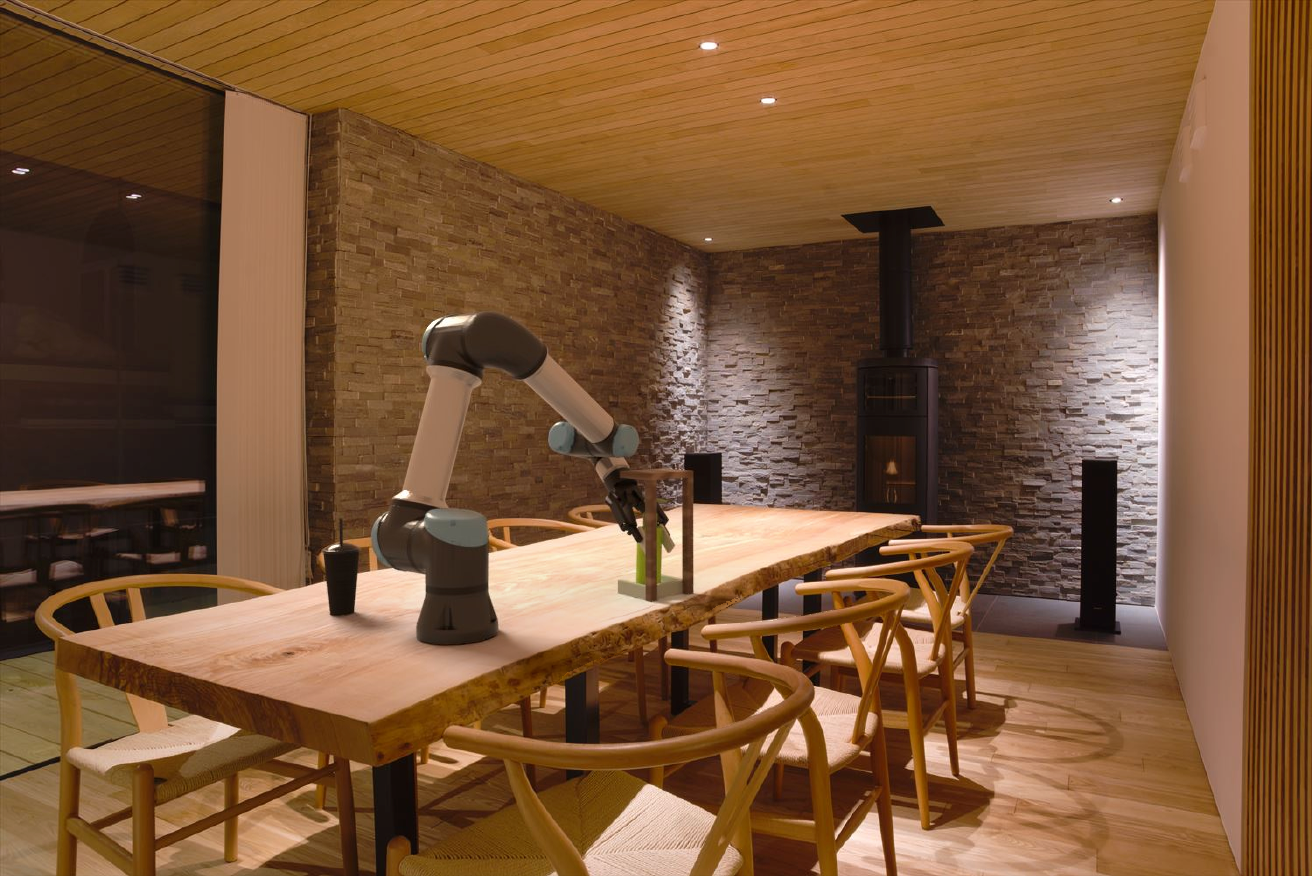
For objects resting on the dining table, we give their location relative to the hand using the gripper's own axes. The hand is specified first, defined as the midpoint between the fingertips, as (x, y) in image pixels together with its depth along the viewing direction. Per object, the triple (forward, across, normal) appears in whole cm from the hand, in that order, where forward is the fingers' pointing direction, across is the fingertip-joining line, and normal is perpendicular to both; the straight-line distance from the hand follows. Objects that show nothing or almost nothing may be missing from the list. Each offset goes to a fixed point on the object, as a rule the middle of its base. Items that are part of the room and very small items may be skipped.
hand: (660, 550), depth 194 cm
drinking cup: (-14, +62, -29) cm, 70 cm away
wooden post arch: (+6, 0, -8) cm, 10 cm away
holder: (+5, 0, -10) cm, 11 cm away
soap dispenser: (+3, 0, -9) cm, 9 cm away
